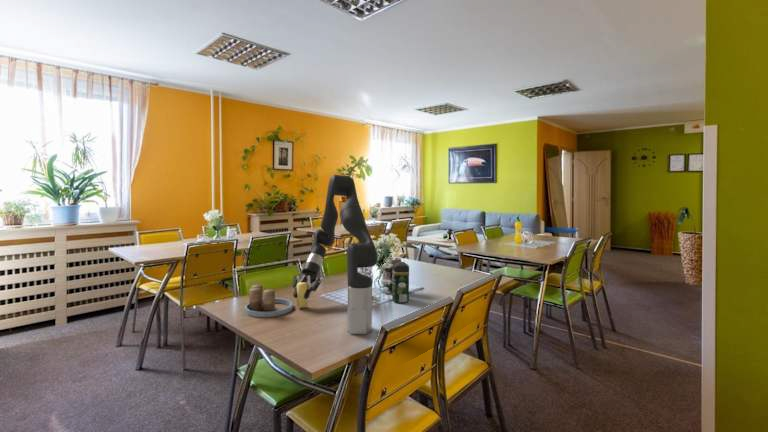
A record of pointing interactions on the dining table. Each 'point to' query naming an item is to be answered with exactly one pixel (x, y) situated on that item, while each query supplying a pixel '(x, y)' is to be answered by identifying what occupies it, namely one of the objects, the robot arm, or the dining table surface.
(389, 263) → the apothecary jar
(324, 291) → the dining table surface
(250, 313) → the tray
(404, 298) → the coffee jar
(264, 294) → the brown cylinder
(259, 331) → the dining table surface
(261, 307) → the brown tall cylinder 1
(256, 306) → the brown cylinder
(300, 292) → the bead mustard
